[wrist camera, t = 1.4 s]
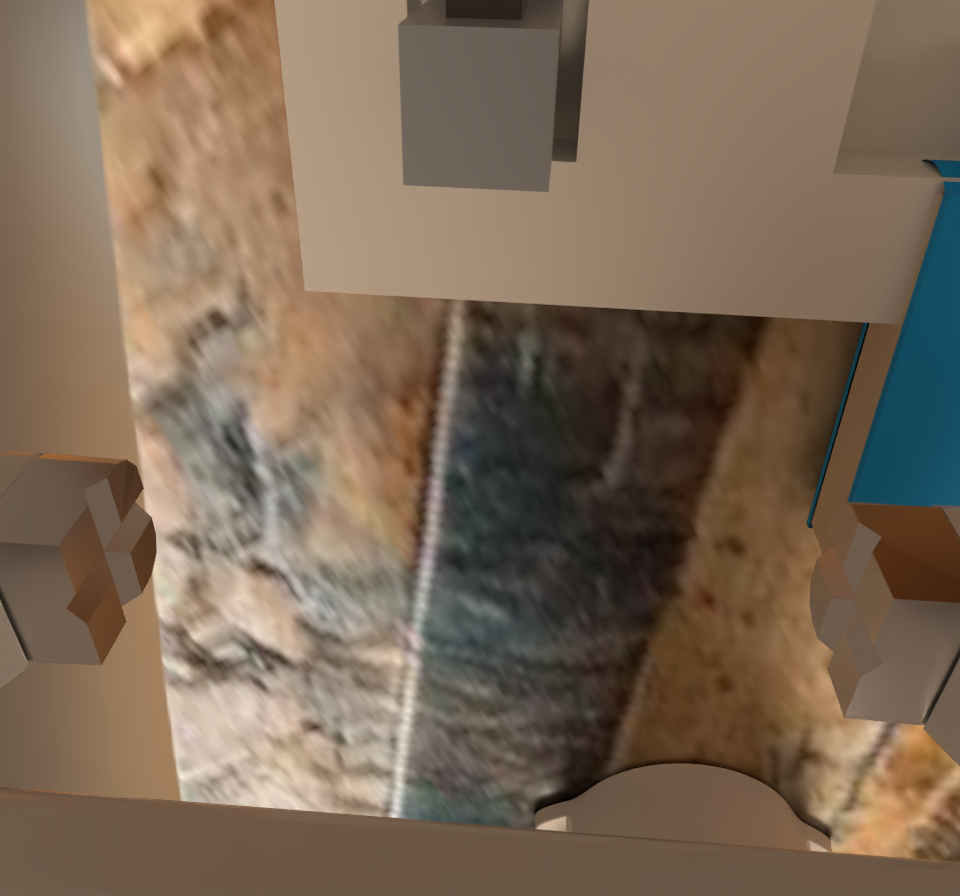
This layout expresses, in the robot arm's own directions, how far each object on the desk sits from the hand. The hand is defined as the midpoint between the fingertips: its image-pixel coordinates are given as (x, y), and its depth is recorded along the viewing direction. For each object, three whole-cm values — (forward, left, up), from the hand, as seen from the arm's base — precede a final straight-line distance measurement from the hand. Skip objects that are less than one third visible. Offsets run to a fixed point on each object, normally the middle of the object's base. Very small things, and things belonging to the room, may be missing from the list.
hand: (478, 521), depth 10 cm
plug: (+1, +2, -24) cm, 24 cm away
